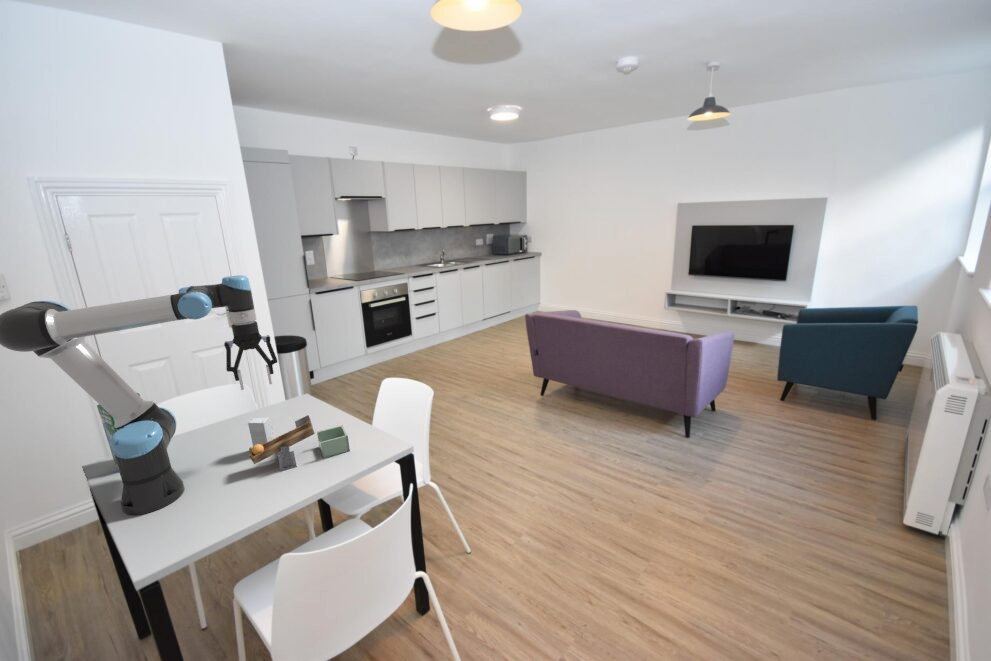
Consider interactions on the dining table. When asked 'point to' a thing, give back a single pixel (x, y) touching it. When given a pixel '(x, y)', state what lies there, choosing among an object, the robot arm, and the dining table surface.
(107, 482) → the dining table surface
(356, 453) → the dining table surface
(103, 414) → the milk carton
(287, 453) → the fulcrum
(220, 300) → the robot arm
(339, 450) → the bin
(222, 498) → the dining table surface
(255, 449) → the ball
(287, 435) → the lever
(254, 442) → the skincare box
